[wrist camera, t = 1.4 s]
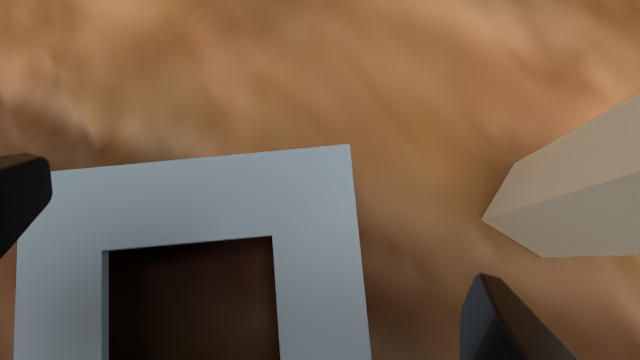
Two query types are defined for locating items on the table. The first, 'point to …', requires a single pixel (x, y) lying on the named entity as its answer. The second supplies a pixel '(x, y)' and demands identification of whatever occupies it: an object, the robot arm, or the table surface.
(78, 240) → the grey thick square frame
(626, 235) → the post
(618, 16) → the table surface
